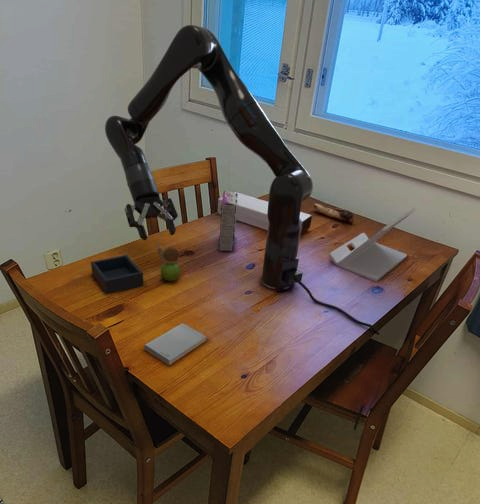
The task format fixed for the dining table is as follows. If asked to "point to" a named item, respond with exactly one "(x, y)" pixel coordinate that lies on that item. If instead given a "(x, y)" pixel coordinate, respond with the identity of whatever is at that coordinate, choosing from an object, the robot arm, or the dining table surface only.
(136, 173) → the robot arm
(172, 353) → the hard drive
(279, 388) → the dining table surface
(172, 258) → the snail figurine
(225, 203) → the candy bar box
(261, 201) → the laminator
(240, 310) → the dining table surface
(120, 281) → the holder
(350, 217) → the wooden log
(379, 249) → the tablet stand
